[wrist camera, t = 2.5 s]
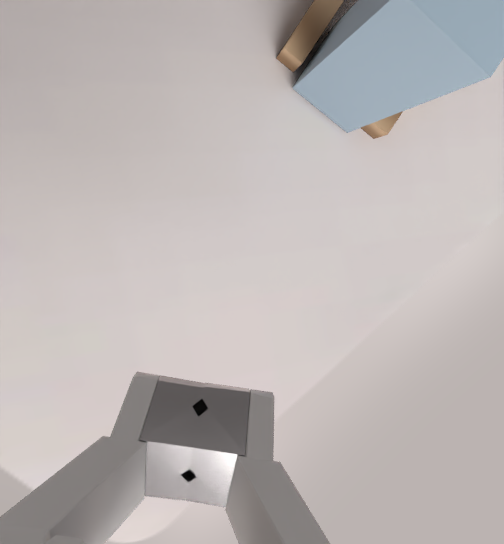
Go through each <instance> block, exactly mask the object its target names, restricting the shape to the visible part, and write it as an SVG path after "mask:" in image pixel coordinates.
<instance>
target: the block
mask: <svg viewBox="0 0 504 544" xmlns="http://www.w3.org/2000/svg"><path fill="white" fill-rule="evenodd" d="M503 58H504V0H358V1H357V2H356V3H355V4H354V5H353V6H352V7H351V8H350V9H349V10H348V11H347V12H346V14H345V15H344V16H343V17H342V18H341V19H340V20H339V21H338V22H337V23H336V24H335V25H334V26H333V27H332V29H331V30H330V32H329V33H328V35H327V36H326V38H325V39H324V41H323V42H322V44H321V45H320V47H319V48H318V50H317V51H316V53H315V54H314V56H313V58H312V59H311V61H310V62H309V64H308V65H307V67H306V68H305V70H304V71H303V73H302V74H301V76H300V77H299V79H298V80H297V82H296V83H295V85H294V86H293V89H294V90H295V91H296V92H298V93H299V94H300V95H301V96H303V97H304V98H305V99H306V100H308V101H309V102H310V103H311V104H312V105H314V106H315V107H316V108H317V109H319V110H320V111H321V112H322V113H324V114H325V115H326V116H327V117H328V118H330V119H331V120H332V121H333V122H335V123H336V124H337V125H338V126H340V127H341V128H342V129H343V130H344V131H346V132H347V133H348V132H351V131H353V130H356V129H358V128H361V127H363V126H366V125H369V124H371V123H374V122H376V121H379V120H381V119H384V118H387V117H389V116H392V115H394V114H397V113H399V112H402V111H405V110H407V109H410V108H412V107H415V106H417V105H420V104H423V103H425V102H428V101H430V100H433V99H435V98H438V97H441V96H443V95H446V94H448V93H451V92H453V91H456V90H459V89H461V88H464V87H466V86H469V85H471V84H474V83H477V82H479V81H482V80H484V79H487V78H489V77H491V76H492V74H493V73H494V71H495V70H496V68H497V67H498V65H499V64H500V62H501V61H502V59H503Z"/></svg>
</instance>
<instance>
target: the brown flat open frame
mask: <svg viewBox="0 0 504 544" xmlns="http://www.w3.org/2000/svg"><path fill="white" fill-rule="evenodd" d="M343 1H344V0H314V1H313V3H312V4H311V6H310V7H309V9H308V10H307V12H306V14H305V15H304V17H303V18H302V20H301V21H300V23H299V24H298V26H297V27H296V29H295V30H294V32H293V33H292V35H291V36H290V38H289V39H288V41H287V42H286V44H285V45H284V47H283V48H282V50H281V51H280V53H279V54H278V56H277V57H276V58H277V59H278V60H279V61H280V62H281V63H283V64H284V65H285V66H286V67H287V68H289V69H290V70H291V71H292V72H294V71H295V70H296V69H297V68H298V67H299V66H300V65H301V64H302V63H303V62H304V60H305V59H306V57H307V56H308V54H309V53H310V51H311V50H312V48H313V47H314V45H315V43H316V42H317V40H318V39H319V37H320V36H321V34H322V33H323V31H324V30H325V28H326V27H327V25H328V24H329V22H330V21H331V19H332V18H333V16H334V15H335V13H336V12H337V10H338V9H339V7H340V6H341V4H342V3H343ZM402 112H403V111H402ZM402 112H399V113H397V114H394V115H392V116H389V117H387V118H384V119H381V120H379V121H376V122H374V123H371V124H369V125H366V126H363V127H361V129H363V130H364V131H365V132H366V133H367V134H369V135H370V136H371V137H372V138H373V139H375V138H378V137H381V136H384V135H387V134H388V133H389V132H390V130H391V129H392V127H393V126H394V124H395V123H396V121H397V120H398V118H399V117H400V115H401V114H402Z"/></svg>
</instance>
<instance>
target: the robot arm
mask: <svg viewBox="0 0 504 544" xmlns="http://www.w3.org/2000/svg"><path fill="white" fill-rule="evenodd" d="M273 436H274V395H273V393H272V392H265V391H258V390H252V389H247V388H240V387H233V386H226V385H218V384H211V383H200V382H195V381H189V380H183V379H178V378H172V377H167V376H161V375H154V374H148V373H142V372H136V374H135V375H134V377H133V379H132V381H131V384H130V386H129V389H128V392H127V394H126V397H125V399H124V402H123V405H122V407H121V410H120V413H119V415H118V418H117V420H116V423H115V426H114V428H113V431H112V433H111V436H110V437H106V436H102V437H101V438H100V439H99V440H97V441H96V442H95V443H93V444H92V445H91V446H90V447H88V448H87V449H86V450H85V451H83V452H82V453H81V454H79V455H78V456H77V457H76V458H74V459H73V460H72V461H71V462H69V463H68V464H67V465H66V466H64V467H63V468H62V469H60V470H59V471H58V472H57V473H55V474H54V475H53V476H52V477H50V478H49V479H48V480H46V481H45V482H44V483H43V484H41V485H40V486H39V487H38V488H36V489H35V490H34V491H32V492H31V493H30V494H29V495H27V496H26V497H25V498H24V499H22V500H21V501H20V502H18V503H17V504H16V505H15V506H14V507H12V508H11V509H10V510H8V511H7V512H6V513H5V514H3V515H2V516H1V517H0V544H105V542H106V541H107V540H108V539H109V538H110V537H111V536H112V535H113V533H114V532H115V531H116V530H117V529H118V528H119V527H120V526H121V524H122V523H123V522H124V521H125V520H126V519H127V518H128V517H129V515H130V514H131V513H132V512H133V511H134V510H135V509H136V508H137V506H138V505H139V504H140V503H141V502H142V501H143V500H144V496H149V497H158V498H167V499H176V500H186V501H191V502H197V503H203V504H208V505H214V506H221V507H226V513H227V515H228V517H229V520H230V523H231V525H232V528H233V530H234V533H235V535H236V538H237V540H238V543H239V544H330V543H329V541H328V539H327V538H326V536H325V535H324V533H323V531H322V530H321V528H320V526H319V525H318V523H317V522H316V520H315V518H314V517H313V515H312V513H311V512H310V510H309V508H308V507H307V505H306V503H305V502H304V500H303V499H302V497H301V495H300V494H299V492H298V490H297V489H296V487H295V485H294V484H293V482H292V480H291V479H290V477H289V476H288V474H287V472H286V471H285V469H284V467H283V466H282V464H281V463H280V462H277V461H273V443H274V437H273Z"/></svg>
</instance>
